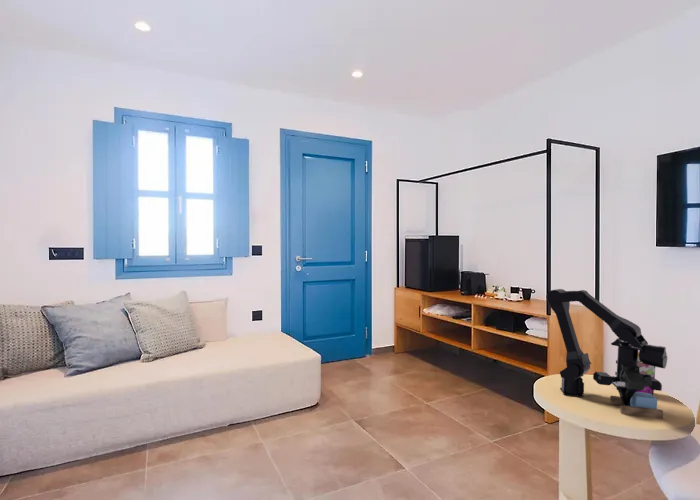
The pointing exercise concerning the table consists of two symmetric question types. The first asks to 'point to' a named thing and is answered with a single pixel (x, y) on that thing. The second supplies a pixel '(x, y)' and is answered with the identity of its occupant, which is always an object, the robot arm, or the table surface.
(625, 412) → the brown rails
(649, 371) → the candy bar box
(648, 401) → the block
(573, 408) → the table surface
